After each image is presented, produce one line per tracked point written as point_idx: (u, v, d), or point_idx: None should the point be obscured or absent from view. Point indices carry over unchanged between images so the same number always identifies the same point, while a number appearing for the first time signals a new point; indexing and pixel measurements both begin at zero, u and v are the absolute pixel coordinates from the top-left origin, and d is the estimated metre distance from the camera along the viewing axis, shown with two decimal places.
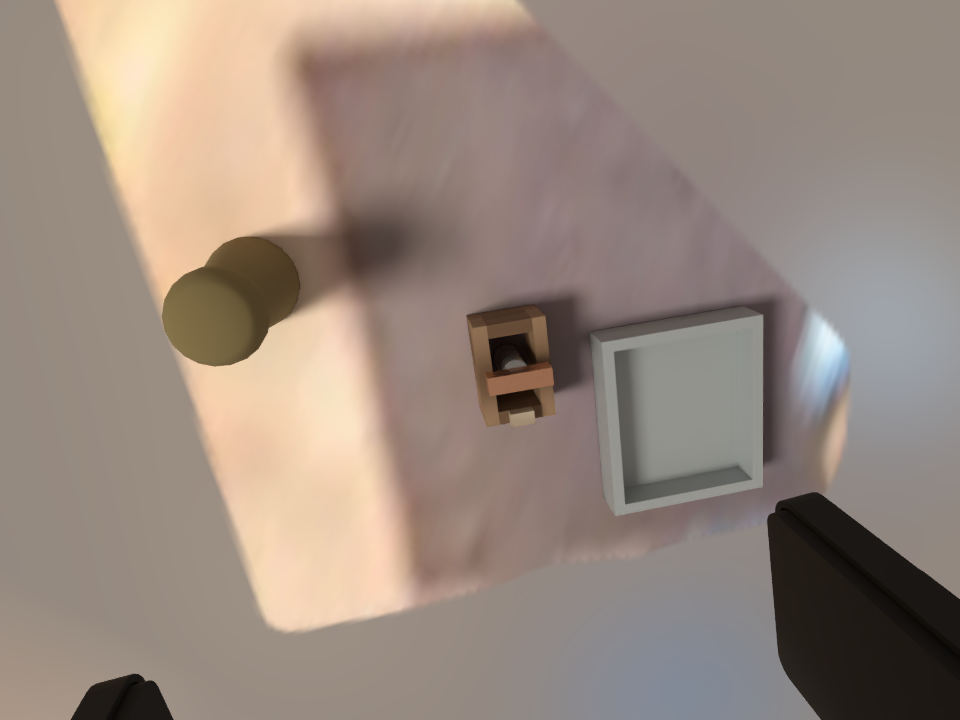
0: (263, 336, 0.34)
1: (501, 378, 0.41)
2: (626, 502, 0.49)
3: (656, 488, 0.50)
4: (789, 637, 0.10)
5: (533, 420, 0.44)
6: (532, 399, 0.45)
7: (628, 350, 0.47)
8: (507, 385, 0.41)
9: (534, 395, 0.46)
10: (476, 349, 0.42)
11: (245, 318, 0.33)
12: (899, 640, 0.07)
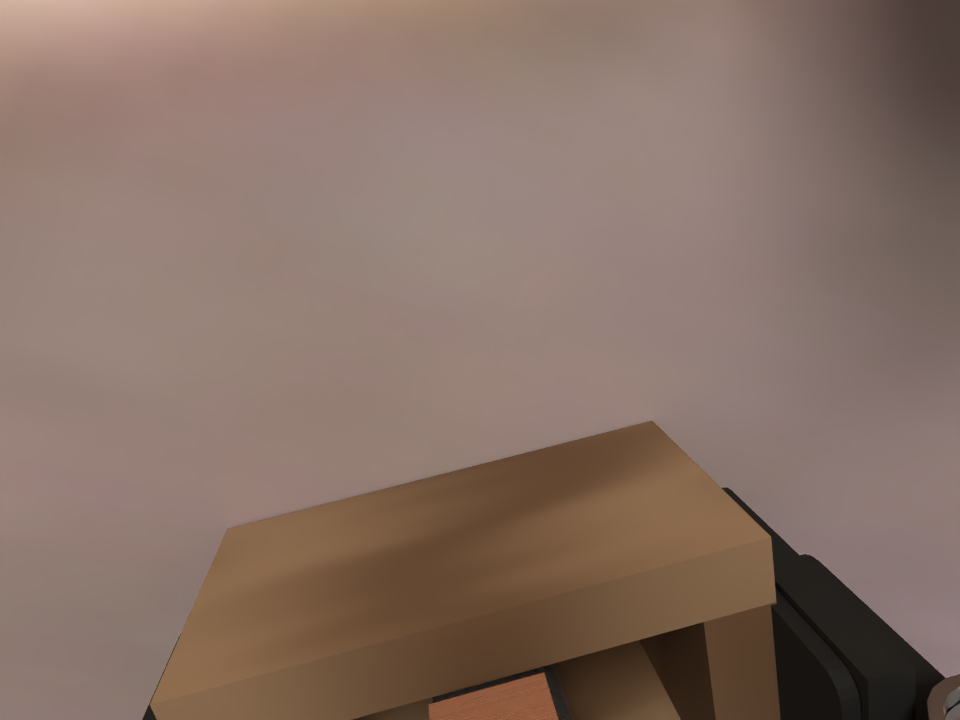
0: None
1: None
2: None
3: None
4: None
5: None
6: None
7: None
8: None
9: None
10: (650, 570, 0.07)
11: None
12: (776, 622, 0.08)
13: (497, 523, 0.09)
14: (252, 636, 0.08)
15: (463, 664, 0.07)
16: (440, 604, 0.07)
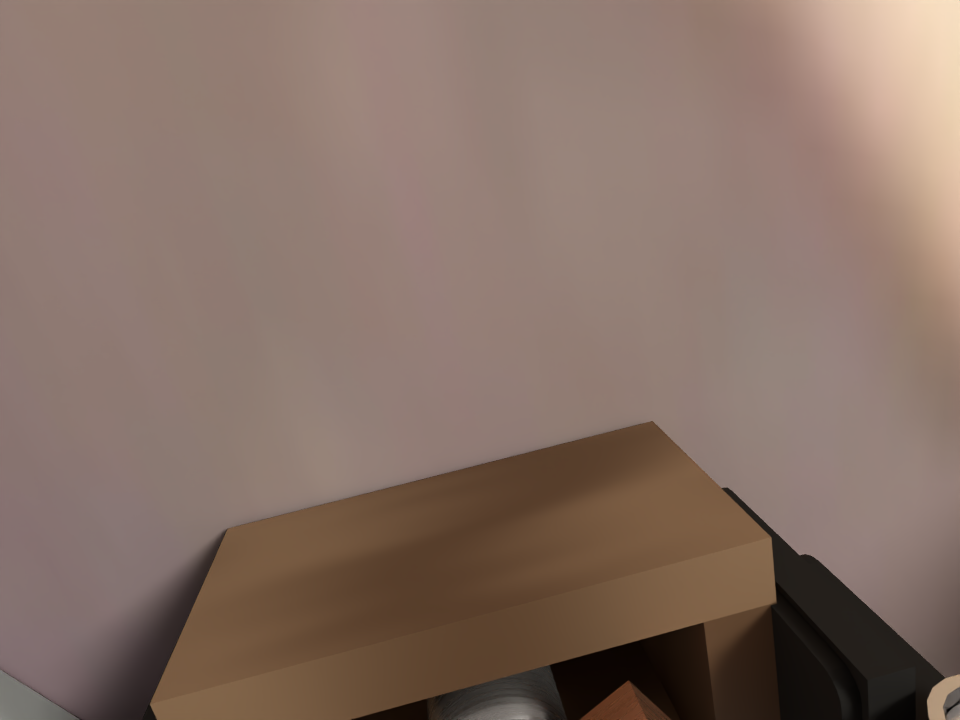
0: None
1: None
2: None
3: None
4: None
5: None
6: None
7: None
8: None
9: None
10: (650, 571, 0.07)
11: None
12: (776, 623, 0.08)
13: (497, 523, 0.09)
14: (252, 636, 0.08)
15: (463, 664, 0.07)
16: (440, 604, 0.07)
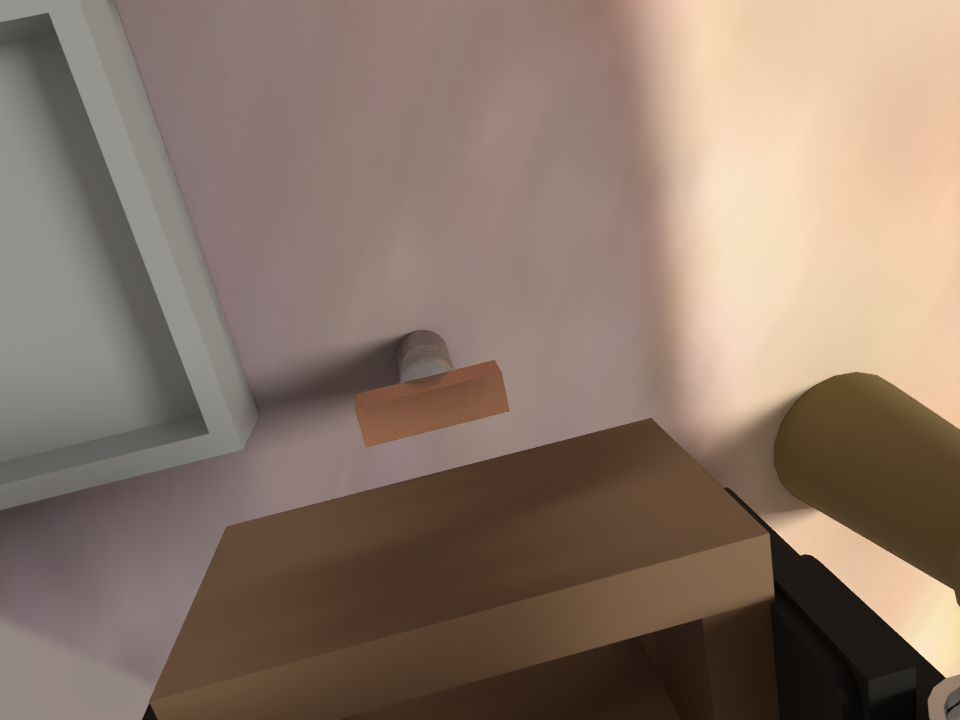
0: None
1: (479, 414, 0.19)
2: (45, 15, 0.17)
3: None
4: None
5: None
6: None
7: (164, 396, 0.22)
8: (464, 400, 0.18)
9: None
10: (649, 567, 0.07)
11: None
12: (776, 622, 0.08)
13: (496, 520, 0.09)
14: (251, 633, 0.08)
15: (462, 661, 0.07)
16: (439, 601, 0.07)
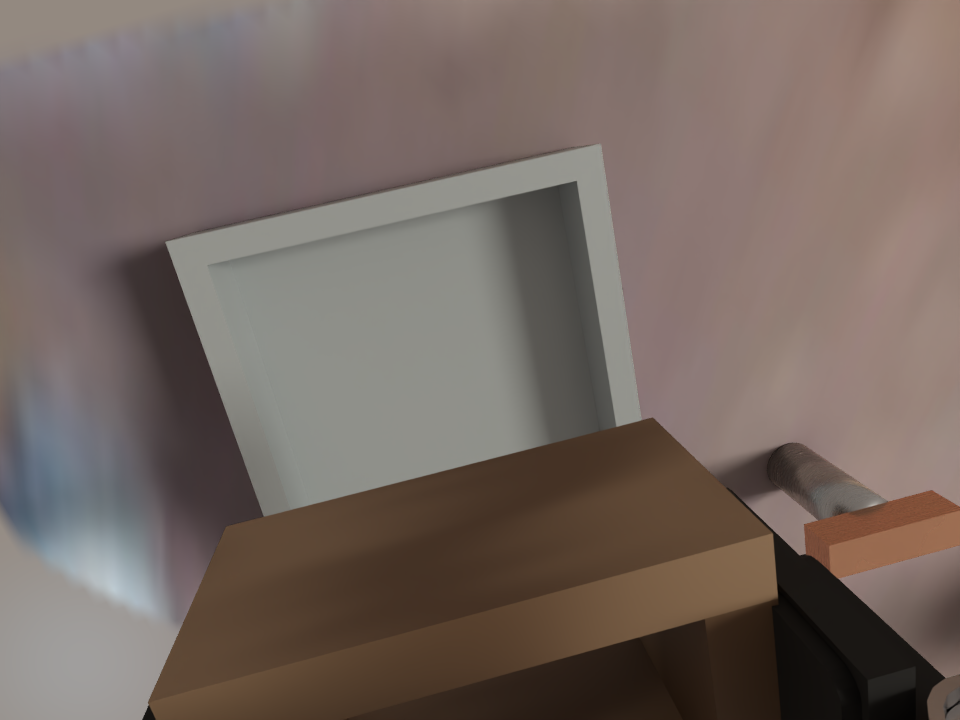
0: None
1: (936, 548, 0.19)
2: None
3: None
4: None
5: None
6: None
7: None
8: (926, 535, 0.19)
9: None
10: (651, 567, 0.07)
11: None
12: (775, 622, 0.08)
13: (497, 520, 0.09)
14: (251, 633, 0.08)
15: (463, 661, 0.07)
16: (440, 601, 0.07)
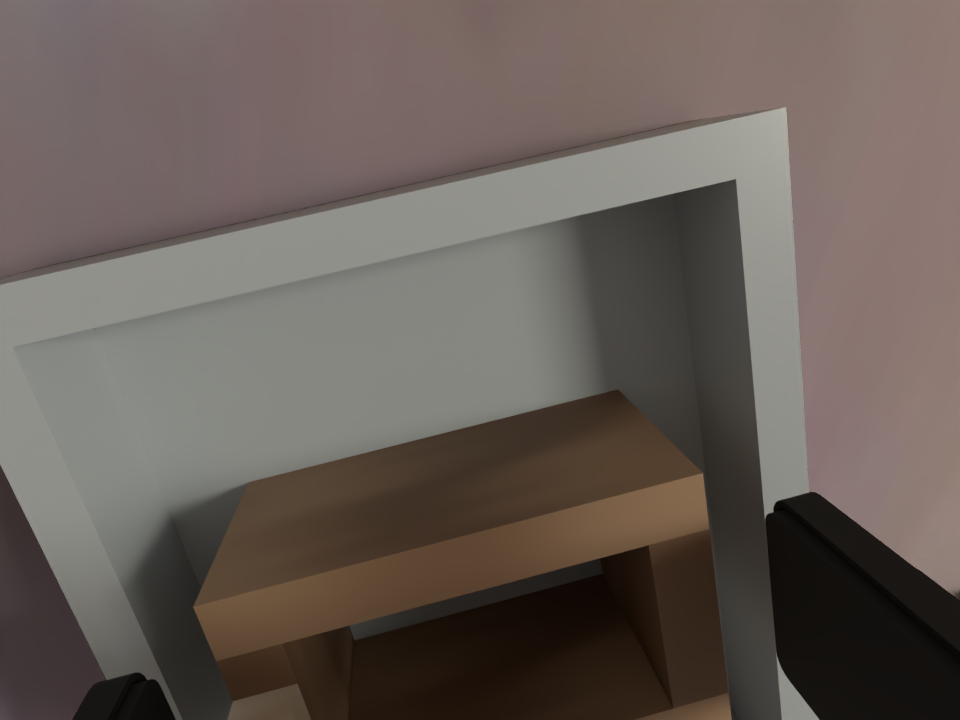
0: None
1: None
2: None
3: None
4: (787, 637, 0.10)
5: None
6: None
7: None
8: None
9: (348, 703, 0.11)
10: (603, 500, 0.09)
11: None
12: (896, 640, 0.07)
13: (480, 470, 0.10)
14: (275, 557, 0.09)
15: (449, 577, 0.09)
16: (430, 530, 0.09)
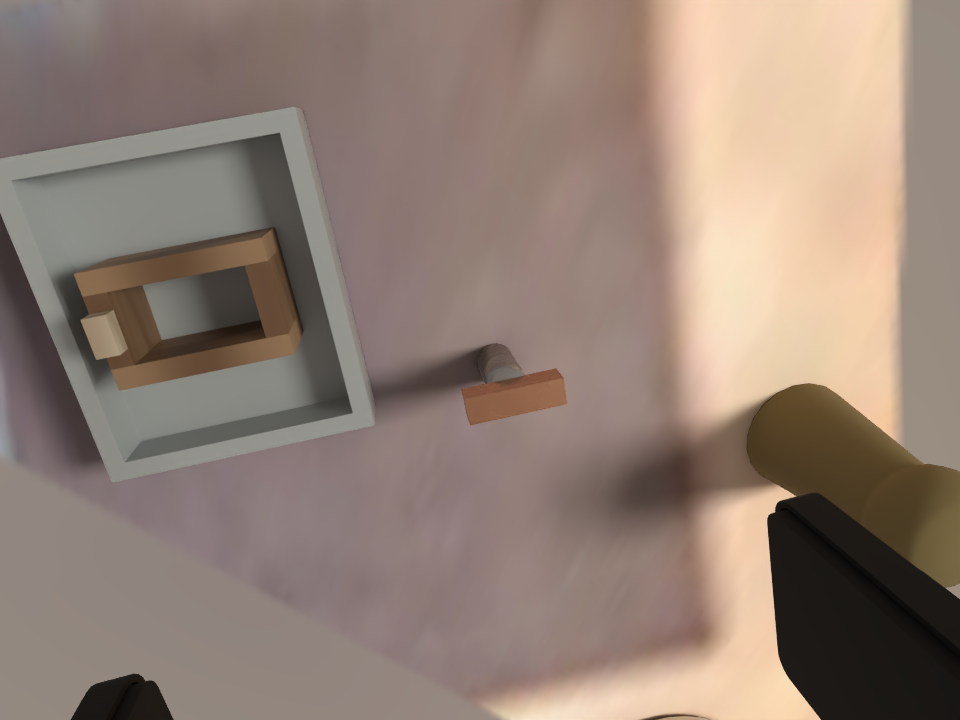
0: (893, 518, 0.27)
1: (546, 405, 0.27)
2: (275, 133, 0.25)
3: (210, 146, 0.26)
4: (789, 637, 0.10)
5: (100, 355, 0.25)
6: (140, 347, 0.27)
7: (312, 386, 0.31)
8: (537, 395, 0.27)
9: (148, 349, 0.27)
10: (223, 245, 0.25)
11: (919, 556, 0.26)
12: (899, 640, 0.07)
13: (196, 246, 0.26)
14: (106, 265, 0.25)
15: (168, 271, 0.25)
16: (163, 255, 0.25)
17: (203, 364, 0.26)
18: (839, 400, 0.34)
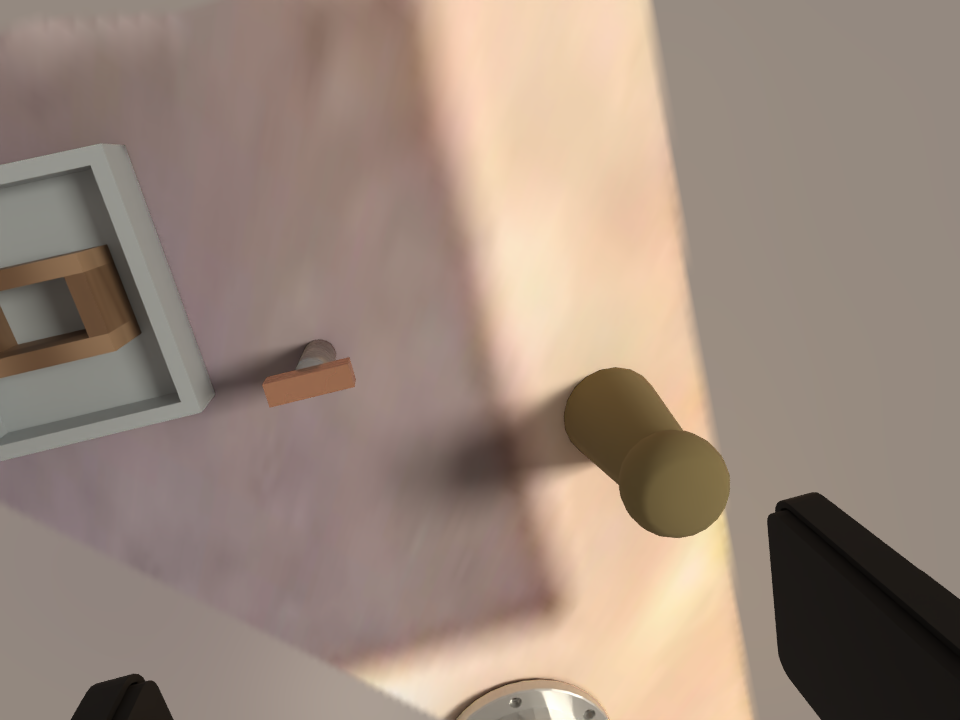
0: (631, 475, 0.30)
1: (336, 388, 0.32)
2: (88, 166, 0.30)
3: (39, 178, 0.31)
4: (789, 637, 0.10)
5: None
6: None
7: (154, 381, 0.35)
8: (326, 380, 0.32)
9: None
10: (44, 260, 0.30)
11: (650, 507, 0.30)
12: (899, 640, 0.07)
13: (30, 262, 0.31)
14: None
15: None
16: None
17: (37, 361, 0.31)
18: (635, 381, 0.38)
